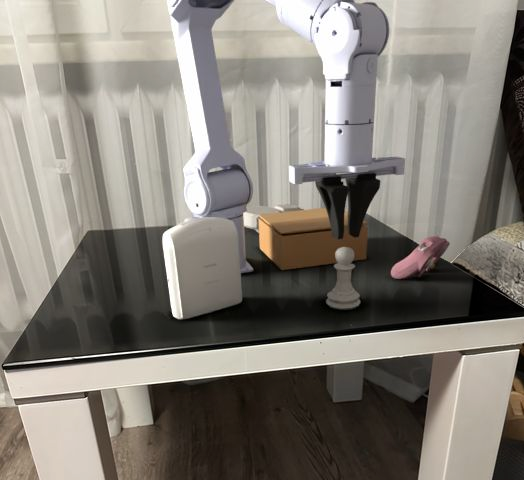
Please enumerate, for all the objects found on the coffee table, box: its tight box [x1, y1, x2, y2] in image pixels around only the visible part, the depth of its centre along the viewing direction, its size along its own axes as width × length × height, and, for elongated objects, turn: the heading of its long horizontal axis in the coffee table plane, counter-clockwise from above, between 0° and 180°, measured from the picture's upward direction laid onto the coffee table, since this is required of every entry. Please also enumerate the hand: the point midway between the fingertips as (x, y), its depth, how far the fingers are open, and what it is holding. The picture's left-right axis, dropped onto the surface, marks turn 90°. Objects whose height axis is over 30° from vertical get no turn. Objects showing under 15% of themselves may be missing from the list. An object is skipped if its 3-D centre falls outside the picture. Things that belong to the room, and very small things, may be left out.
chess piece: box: [325, 247, 361, 311], centre depth 72 cm, size 5×5×8 cm
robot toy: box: [243, 203, 305, 234], centre depth 110 cm, size 12×4×15 cm
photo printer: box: [162, 217, 243, 320], centre depth 71 cm, size 10×4×12 cm, turn 123°
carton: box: [258, 215, 369, 271], centre depth 93 cm, size 15×13×6 cm
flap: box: [259, 207, 348, 224], centre depth 95 cm, size 15×6×1 cm, turn 106°
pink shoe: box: [390, 234, 451, 280], centre depth 83 cm, size 10×5×7 cm, turn 143°
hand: (345, 236), depth 70 cm, fingers closed
